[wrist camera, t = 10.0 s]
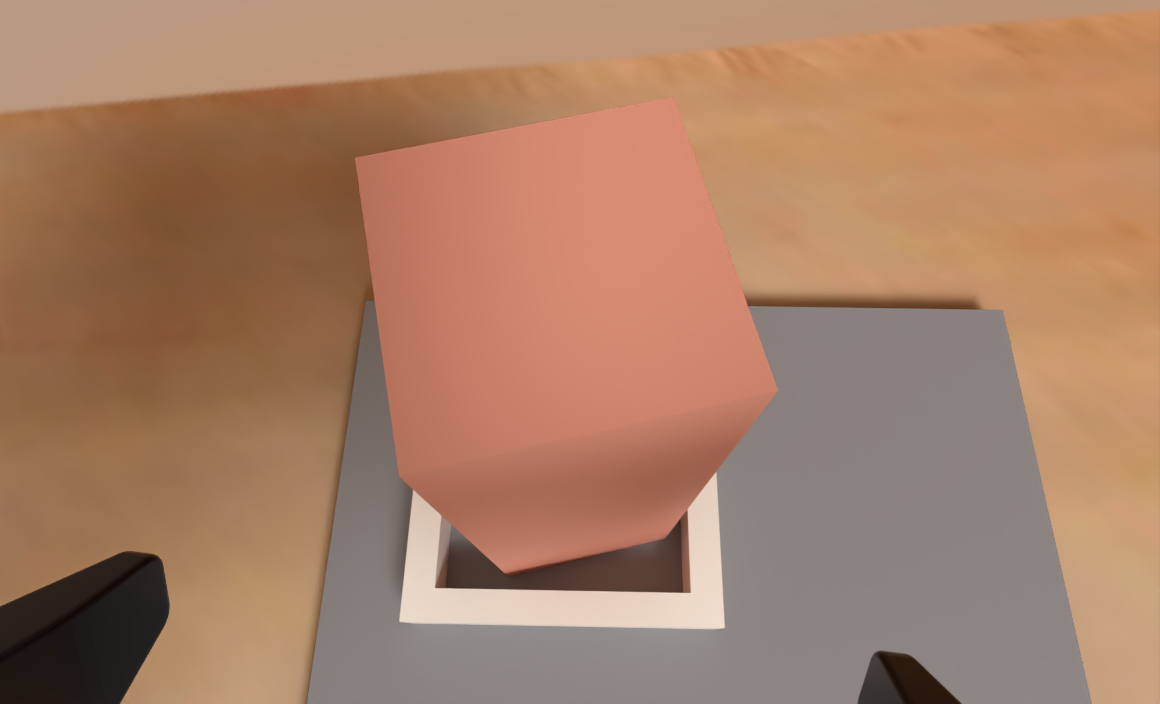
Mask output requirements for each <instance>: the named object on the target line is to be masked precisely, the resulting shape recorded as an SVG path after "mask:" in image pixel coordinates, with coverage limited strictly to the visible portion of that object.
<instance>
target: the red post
mask: <svg viewBox="0 0 1160 704" xmlns="http://www.w3.org/2000/svg"><path fill="white" fill-rule="evenodd" d="M355 163H356V170H357V177H358V184H359V192H360V199H361V206H362V213H363V220H364V228H365V235H366V242H367V249H368V256H369V264H370V271H371V278H372V285H373V292H374V300H375V307H376V314H377V321H378V329H379V336H380V343H381V350H382V357H383V365H384V372H385V379H386V386H387V393H388V401H389V408H390V415H391V422H392V429H393V437H394V444H395V451H396V458H397V465H398V473H399V477H400V478H401V479H402V480H403V481H404V482H405V483H406V484H407V485H409V486H410V487H411V488H412V489H413V490H414V491H415V492H416V493H417V494H418V495H420V496H421V497H422V498H423V499H424V500H425V501H426V502H427V503H428V504H429V505H430V506H432V507H433V508H434V509H435V510H436V511H437V512H438V513H439V514H440V515H441V516H442V517H444V518H445V519H446V520H447V521H448V522H449V523H450V524H451V525H452V526H453V527H455V528H456V529H457V530H458V531H459V532H460V533H461V534H462V535H463V536H464V537H465V538H467V539H468V540H469V541H470V542H471V543H472V544H473V545H474V546H475V547H476V548H478V549H479V550H480V551H481V552H482V553H483V554H484V555H485V556H486V557H487V558H488V559H490V560H491V561H492V562H493V563H494V564H495V565H496V566H497V567H498V568H499V569H500V570H502V571H503V572H504V573H505V574H506V575H507V576H508V577H510V576H514V575H518V574H522V573H526V572H530V571H534V570H539V569H543V568H547V567H551V566H555V565H559V564H563V563H568V562H572V561H576V560H580V559H584V558H588V557H592V556H597V555H601V554H605V553H609V552H613V551H617V550H621V549H625V548H630V547H634V546H638V545H642V544H646V543H650V542H654V541H659V540H663V539H665V538H666V537H667V535H668V534H669V533H670V531H671V530H672V529H673V527H674V526H675V525H676V524H677V522H678V521H679V520H680V518H681V517H682V516H683V514H684V513H685V512H686V510H687V509H688V508H689V507H690V505H691V504H692V503H693V501H694V500H695V499H696V497H697V496H698V495H699V494H700V492H701V491H702V490H703V488H704V487H705V486H706V484H707V483H708V482H709V480H710V479H711V478H712V477H713V475H714V474H715V473H716V471H717V470H718V469H719V467H720V466H721V465H722V463H723V462H724V461H725V460H726V458H727V457H728V456H729V454H730V453H731V452H732V450H733V449H734V448H735V446H736V445H737V444H738V443H739V441H740V440H741V439H742V437H743V436H744V435H745V433H746V432H747V431H748V429H749V428H750V427H751V426H752V424H753V423H754V422H755V420H756V419H757V418H758V416H759V415H760V414H761V412H762V411H763V410H764V409H765V407H766V406H767V405H768V403H769V402H770V401H771V399H772V398H773V397H774V396H775V394H776V393H777V392H778V389H777V386H776V383H775V380H774V378H773V375H772V372H771V369H770V366H769V364H768V361H767V358H766V355H765V352H764V350H763V347H762V344H761V341H760V338H759V336H758V333H757V330H756V327H755V324H754V322H753V319H752V316H751V313H750V310H749V308H748V305H747V302H746V299H745V296H744V294H743V291H742V288H741V285H740V282H739V280H738V277H737V274H736V271H735V268H734V266H733V263H732V260H731V257H730V254H729V252H728V249H727V246H726V243H725V240H724V238H723V235H722V232H721V229H720V226H719V224H718V221H717V218H716V215H715V212H714V210H713V207H712V204H711V201H710V198H709V196H708V193H707V190H706V187H705V184H704V182H703V179H702V176H701V173H700V170H699V168H698V165H697V162H696V159H695V156H694V154H693V151H692V148H691V145H690V142H689V140H688V137H687V134H686V131H685V128H684V126H683V123H682V120H681V117H680V114H679V112H678V109H677V106H676V103H675V100H674V98H673V97H671V98H666V99H661V100H656V101H650V102H645V103H640V104H634V105H629V106H624V107H619V108H613V109H608V110H603V111H598V112H592V113H587V114H582V115H576V116H571V117H566V118H561V119H555V120H550V121H545V122H540V123H534V124H529V125H524V126H518V127H513V128H508V129H503V130H497V131H492V132H487V133H482V134H476V135H471V136H466V137H460V138H455V139H450V140H445V141H439V142H434V143H429V144H424V145H418V146H413V147H408V148H402V149H397V150H392V151H387V152H381V153H376V154H371V155H366V156H360V157H355Z"/></svg>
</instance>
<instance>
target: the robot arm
mask: <svg viewBox="0 0 1160 704" xmlns="http://www.w3.org/2000/svg"><path fill="white" fill-rule="evenodd" d="M169 607H170V604H169V597H168V591H167V585H166V579H165V573H164V567H163V563H162V561H161V559H160V558H159V557H158V556H156V555H154V554H149V553H141V552H134V551H126V552H122V553H119V554H117V555H115V556H112V557H110V558H108V559H106V560H104V561H101V562H99V563H97V564H95V565H92V566H90V567H88V568H86V569H83V570H81V571H79V572H77V573H74V574H72V575H70V576H68V577H65V578H63V579H61V580H59V581H56V582H54V583H52V584H50V585H47V586H45V587H43V588H41V589H38V590H36V591H34V592H32V593H29V594H27V595H25V596H23V597H20V598H18V599H16V600H14V601H11V602H9V603H7V604H5V605H2V606H0V704H120V703H121V701H122V699H123V697H124V696H125V694H126V692H127V690H128V689H129V687H130V685H131V683H132V682H133V680H134V678H135V676H136V675H137V673H138V671H139V669H140V668H141V666H142V664H143V662H144V661H145V659H146V657H147V655H148V654H149V652H150V650H151V648H152V647H153V645H154V643H155V641H156V640H157V638H158V636H159V634H160V633H161V631H162V629H163V627H164V625H165V623H166V621H167V618H168V615H169ZM857 704H962V703H961V702H960V701H959V700H958V699H957V698H956V697H955V696H954V695H952V694H951V693H950V692H949V691H948V690H947V689H946V688H945V687H944V686H943V685H942V684H941V683H940V682H939V681H938V680H937V679H936V678H935V677H934V676H933V675H932V674H931V673H930V672H929V671H928V670H927V669H926V668H924V667H923V666H922V665H921V664H920V663H919V662H918V661H917V660H916V659H915V658H914V657H912V656H911V655H908V654H905V653H897V652H890V651H877V652H875V653H874V654H873V655H872V657H871V660H870V663H869V666H868V669H867V672H866V675H865V678H864V682H863V685H862V688H861V691H860V694H859V698H858V703H857Z"/></svg>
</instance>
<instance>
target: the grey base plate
mask: <svg viewBox="0 0 1160 704" xmlns="http://www.w3.org/2000/svg"><path fill="white" fill-rule="evenodd" d="M748 308H749V310H750V313H751V316H752V319H753V322H754V324H755V327H756V330H757V333H758V336H759V338H760V341H761V344H762V347H763V350H764V352H765V355H766V358H767V361H768V364H769V366H770V369H771V372H772V375H773V378H774V380H775V383H776V386H777V389H778V392H777V393H776V394H775V396H774V397H773V398H772V399H771V401H770V402H769V403H768V405H767V406H766V407H765V409H764V410H763V411H762V412H761V414H760V415H759V416H758V418H757V419H756V420H755V422H754V423H753V424H752V426H751V427H750V428H749V429H748V431H747V432H746V433H745V435H744V436H743V437H742V439H741V440H740V441H739V443H738V444H737V445H736V446H735V448H734V449H733V450H732V452H731V453H730V454H729V456H728V457H727V458H726V460H725V461H724V462H723V463H722V465H721V466H720V467H719V469H718V470H717V471H716V473H715V474H714V475H713V477H712V478H711V479H710V480H709V482H708V483H707V484H706V486H705V487H704V488H703V490H702V491H701V492H700V494H699V495H698V496H697V497H696V499H695V500H694V501H693V503H692V504H691V505H690V507H689V508H688V509H687V510H686V512H685V513H684V514H683V516H682V517H681V518H680V520H679V521H678V522H677V524H676V525H675V526H674V527H673V529H672V530H671V531H670V533H669V534H668V535H667V537H666V538H665V539H663V540H659V541H654V542H650V543H646V544H642V545H638V546H634V547H630V548H625V549H621V550H617V551H613V552H609V553H605V554H601V555H597V556H592V557H588V558H584V559H580V560H576V561H572V562H568V563H563V564H559V565H555V566H551V567H547V568H543V569H539V570H534V571H530V572H526V573H522V574H518V575H514V576H510V577H508V576H507V575H506V574H505V573H504V572H503V571H502V570H500V569H499V568H498V567H497V566H496V565H495V564H494V563H493V562H492V561H491V560H490V559H488V558H487V557H486V556H485V555H484V554H483V553H482V552H481V551H480V550H479V549H478V548H476V547H475V546H474V545H473V544H472V543H471V542H470V541H469V540H468V539H467V538H465V537H464V536H463V535H462V534H461V533H460V532H459V531H458V530H457V529H456V528H455V527H453V526H452V525H451V524H450V523H449V522H448V521H447V520H446V519H445V518H444V517H442V516H441V515H440V514H439V513H438V512H437V511H436V510H435V509H434V508H433V507H432V506H430V505H429V504H428V503H427V502H426V501H425V500H424V499H423V498H422V497H421V496H420V495H418V494H417V493H416V492H415V491H414V490H413V489H412V488H411V487H410V486H409V485H407V484H406V483H405V482H404V481H403V480H402V479H401V478H400V477H399V473H398V465H397V458H396V451H395V444H394V437H393V429H392V422H391V415H390V408H389V401H388V393H387V386H386V379H385V372H384V365H383V357H382V350H381V343H380V336H379V329H378V321H377V314H376V307H375V301H366V302H365V309H364V316H363V323H362V330H361V336H360V343H359V350H358V357H357V364H356V371H355V378H354V384H353V391H352V398H351V405H350V412H349V419H348V425H347V432H346V439H345V446H344V453H343V460H342V466H341V473H340V480H339V487H338V494H337V501H336V507H335V514H334V521H333V528H332V535H331V542H330V549H329V555H328V562H327V569H326V576H325V583H324V590H323V596H322V603H321V610H320V617H319V624H318V631H317V637H316V644H315V651H314V658H313V665H312V672H311V679H310V685H309V692H308V699H307V704H857V703H858V698H859V694H860V691H861V688H862V685H863V682H864V678H865V675H866V672H867V669H868V666H869V663H870V660H871V657H872V655H873V654H874V653H875V652H877V651H890V652H897V653H905V654H908V655H911V656H912V657H914V658H915V659H916V660H917V661H918V662H919V663H920V664H921V665H922V666H923V667H924V668H926V669H927V670H928V671H929V672H930V673H931V674H932V675H933V676H934V677H935V678H936V679H937V680H938V681H939V682H940V683H941V684H942V685H943V686H944V687H945V688H946V689H947V690H948V691H949V692H950V693H951V694H952V695H954V696H955V697H956V698H957V699H958V700H959V701H960V702H961V703H962V704H1092V702H1091V698H1090V694H1089V689H1088V685H1087V680H1086V676H1085V671H1084V667H1083V663H1082V658H1081V654H1080V649H1079V645H1078V640H1077V636H1076V632H1075V627H1074V623H1073V618H1072V614H1071V609H1070V605H1069V601H1068V596H1067V592H1066V587H1065V583H1064V579H1063V574H1062V570H1061V565H1060V561H1059V556H1058V552H1057V548H1056V543H1055V539H1054V534H1053V530H1052V525H1051V521H1050V517H1049V512H1048V508H1047V503H1046V499H1045V494H1044V490H1043V486H1042V481H1041V477H1040V472H1039V468H1038V463H1037V459H1036V455H1035V450H1034V446H1033V441H1032V437H1031V433H1030V428H1029V424H1028V419H1027V415H1026V410H1025V406H1024V402H1023V397H1022V393H1021V388H1020V384H1019V379H1018V375H1017V371H1016V366H1015V362H1014V357H1013V353H1012V348H1011V344H1010V340H1009V335H1008V331H1007V326H1006V322H1005V317H1004V313H1003V310H975V309H907V308H839V307H771V306H748Z"/></svg>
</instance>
